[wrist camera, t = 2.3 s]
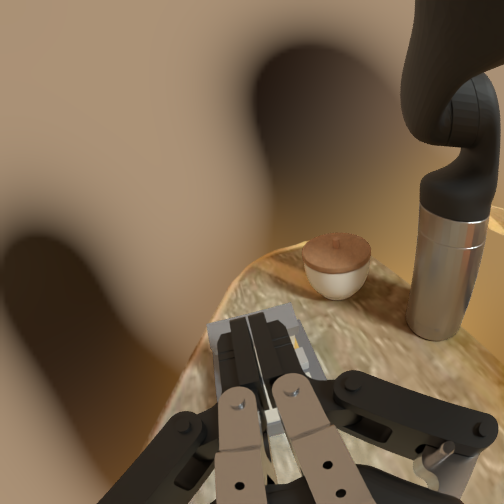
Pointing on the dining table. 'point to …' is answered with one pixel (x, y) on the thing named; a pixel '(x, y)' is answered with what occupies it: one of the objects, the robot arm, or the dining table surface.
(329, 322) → the dining table surface
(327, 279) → the lidded jar
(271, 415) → the switch unit
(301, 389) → the robot arm
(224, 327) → the lever
